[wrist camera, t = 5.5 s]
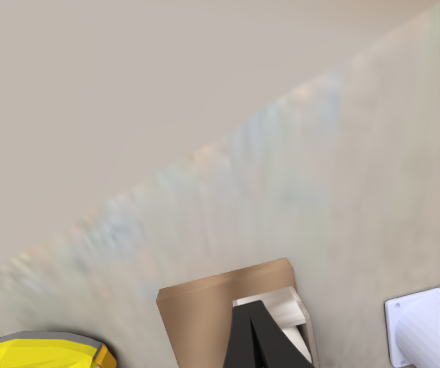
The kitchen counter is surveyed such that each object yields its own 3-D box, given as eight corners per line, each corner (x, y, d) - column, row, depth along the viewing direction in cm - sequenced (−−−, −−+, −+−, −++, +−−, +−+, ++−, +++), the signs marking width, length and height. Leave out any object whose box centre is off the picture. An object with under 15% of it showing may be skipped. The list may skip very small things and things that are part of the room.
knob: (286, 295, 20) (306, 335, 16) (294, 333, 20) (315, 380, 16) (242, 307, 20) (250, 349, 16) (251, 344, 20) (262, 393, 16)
